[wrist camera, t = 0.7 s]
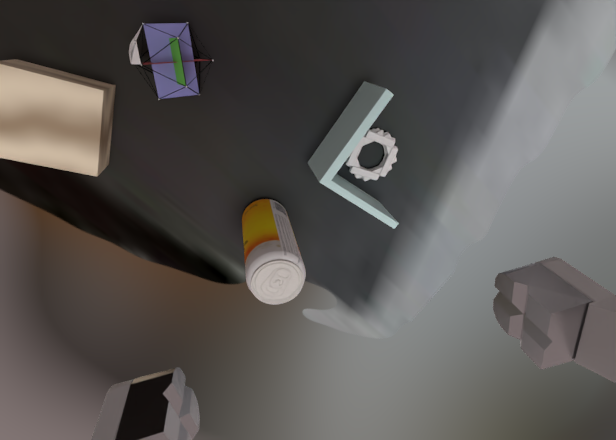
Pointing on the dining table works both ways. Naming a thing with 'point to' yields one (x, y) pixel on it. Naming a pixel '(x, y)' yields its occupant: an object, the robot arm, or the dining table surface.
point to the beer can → (271, 253)
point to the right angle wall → (356, 150)
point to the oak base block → (54, 118)
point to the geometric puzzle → (169, 59)
